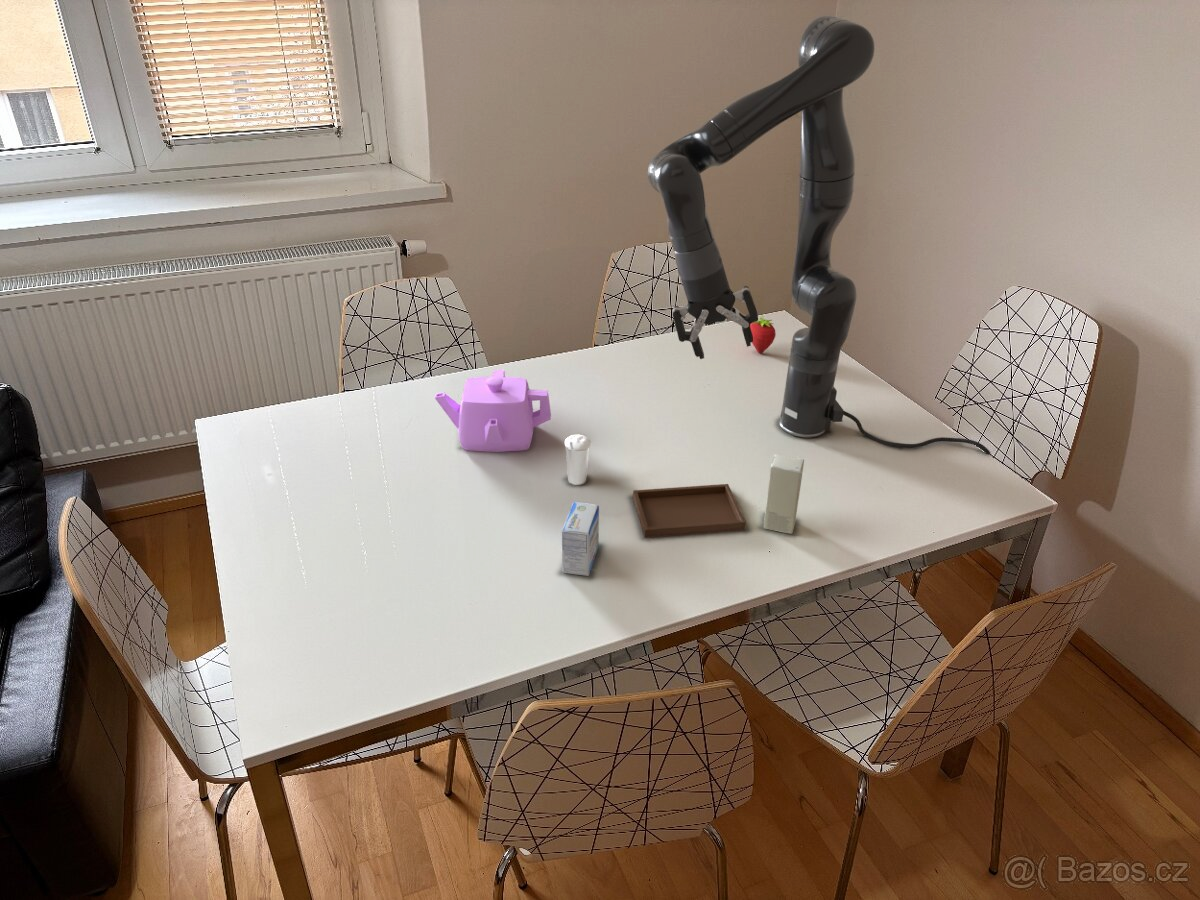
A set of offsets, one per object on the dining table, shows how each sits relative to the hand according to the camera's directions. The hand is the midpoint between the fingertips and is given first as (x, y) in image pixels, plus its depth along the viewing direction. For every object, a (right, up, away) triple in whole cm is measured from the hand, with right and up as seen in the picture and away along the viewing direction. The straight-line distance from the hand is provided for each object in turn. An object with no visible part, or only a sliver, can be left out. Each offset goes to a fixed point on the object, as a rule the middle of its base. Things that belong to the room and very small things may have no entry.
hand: (725, 350), depth 157 cm
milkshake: (-27, -24, +3) cm, 36 cm away
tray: (-7, -29, -4) cm, 30 cm away
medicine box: (-26, -36, -15) cm, 46 cm away
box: (+8, -31, -7) cm, 33 cm away
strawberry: (+15, +5, +49) cm, 51 cm away
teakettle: (-43, -15, +15) cm, 48 cm away
